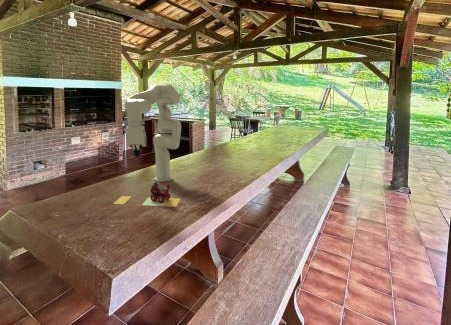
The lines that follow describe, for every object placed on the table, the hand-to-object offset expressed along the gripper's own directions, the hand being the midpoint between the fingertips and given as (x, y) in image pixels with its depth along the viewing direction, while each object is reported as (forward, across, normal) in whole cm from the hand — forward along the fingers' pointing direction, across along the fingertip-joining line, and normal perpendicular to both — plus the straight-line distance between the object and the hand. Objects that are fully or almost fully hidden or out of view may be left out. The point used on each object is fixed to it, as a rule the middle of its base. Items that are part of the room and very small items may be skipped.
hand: (137, 156), depth 163 cm
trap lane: (+24, -6, +7) cm, 26 cm away
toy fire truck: (+24, -13, +5) cm, 28 cm away
